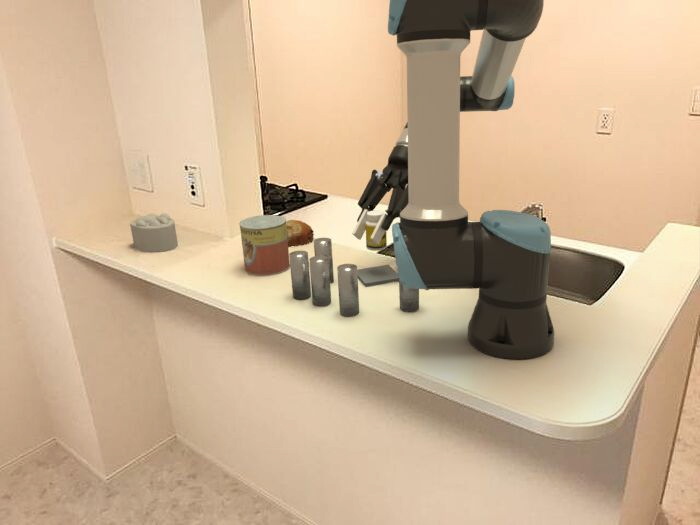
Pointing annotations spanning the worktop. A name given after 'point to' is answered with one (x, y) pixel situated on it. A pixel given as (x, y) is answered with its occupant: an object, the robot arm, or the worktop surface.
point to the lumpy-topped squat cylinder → (154, 233)
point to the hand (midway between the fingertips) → (365, 238)
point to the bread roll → (298, 233)
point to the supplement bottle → (371, 224)
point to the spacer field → (324, 277)
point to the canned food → (265, 245)
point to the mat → (377, 275)
